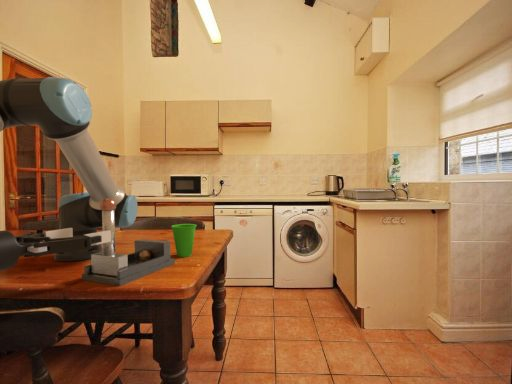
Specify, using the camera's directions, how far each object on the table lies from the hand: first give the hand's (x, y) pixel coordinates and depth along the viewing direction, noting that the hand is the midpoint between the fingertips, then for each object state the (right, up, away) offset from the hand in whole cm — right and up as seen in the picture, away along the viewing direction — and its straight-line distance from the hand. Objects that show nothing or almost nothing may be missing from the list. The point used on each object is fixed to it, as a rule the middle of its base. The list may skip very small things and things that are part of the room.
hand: (90, 234), depth 71 cm
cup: (+16, -13, +31) cm, 37 cm away
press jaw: (+2, -11, +6) cm, 13 cm away
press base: (+5, -13, +13) cm, 19 cm away
